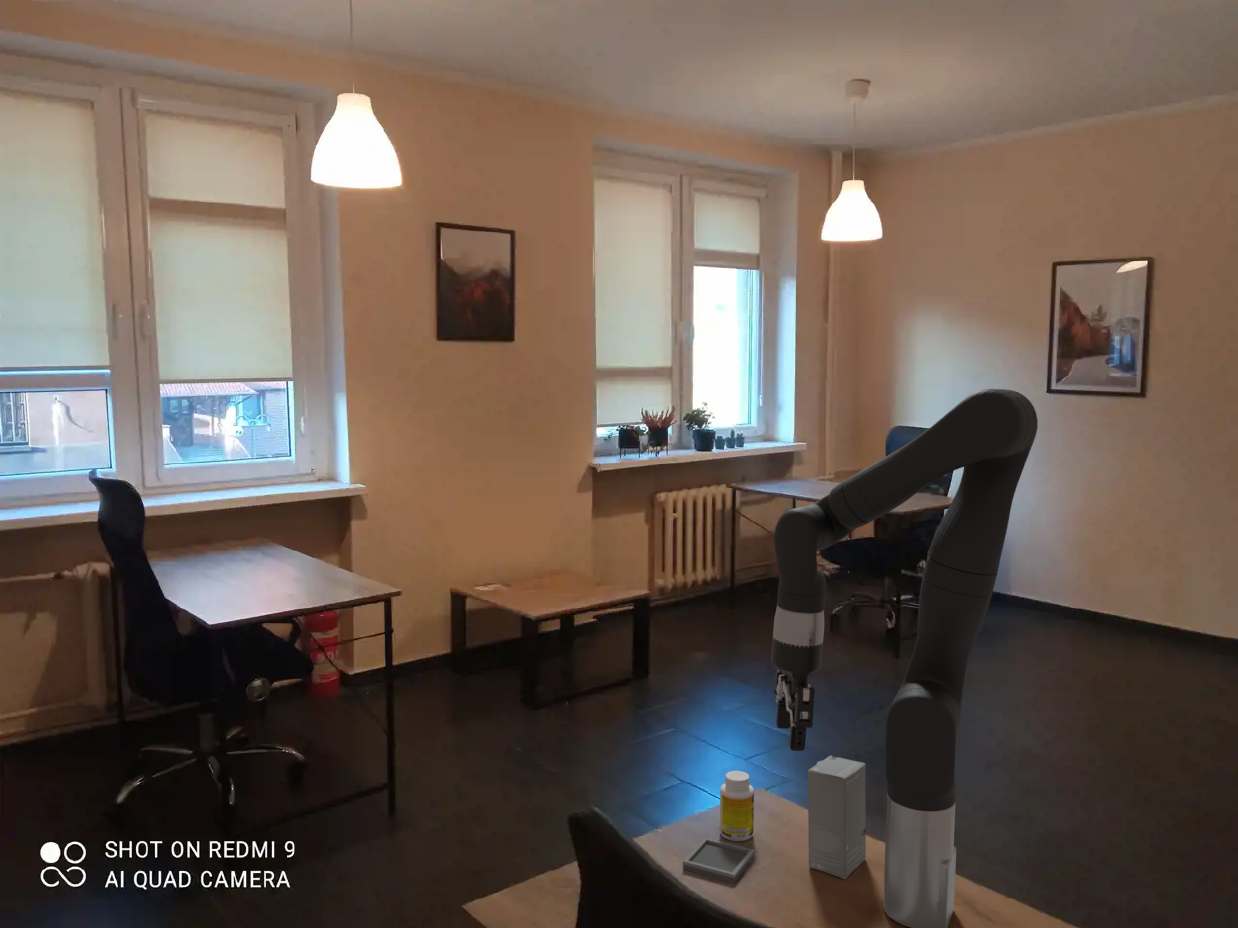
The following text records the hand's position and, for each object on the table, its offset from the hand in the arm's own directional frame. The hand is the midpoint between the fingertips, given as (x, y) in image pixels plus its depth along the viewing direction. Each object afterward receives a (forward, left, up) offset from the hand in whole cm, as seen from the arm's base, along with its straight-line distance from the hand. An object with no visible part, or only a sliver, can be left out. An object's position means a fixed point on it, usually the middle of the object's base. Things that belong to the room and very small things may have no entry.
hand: (789, 738), depth 149 cm
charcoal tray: (+9, +5, -21) cm, 23 cm away
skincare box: (-7, -4, -21) cm, 22 cm away
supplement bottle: (+10, -5, -21) cm, 24 cm away
